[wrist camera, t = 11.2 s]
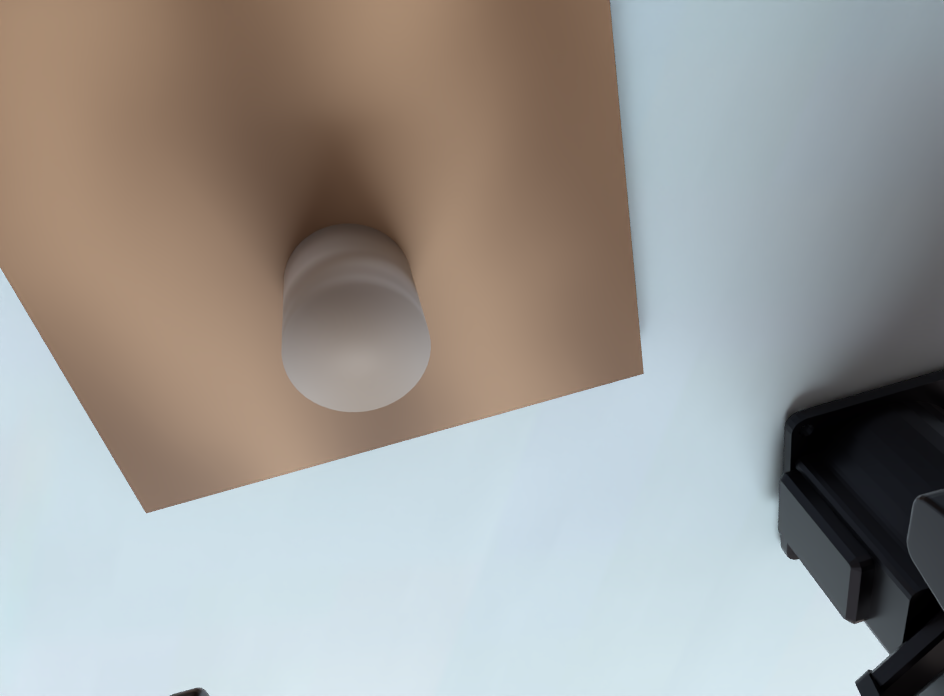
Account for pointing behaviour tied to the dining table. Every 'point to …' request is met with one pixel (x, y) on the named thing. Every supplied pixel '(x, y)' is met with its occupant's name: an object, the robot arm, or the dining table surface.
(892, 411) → the robot arm
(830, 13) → the dining table surface
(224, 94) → the post stand
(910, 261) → the dining table surface
